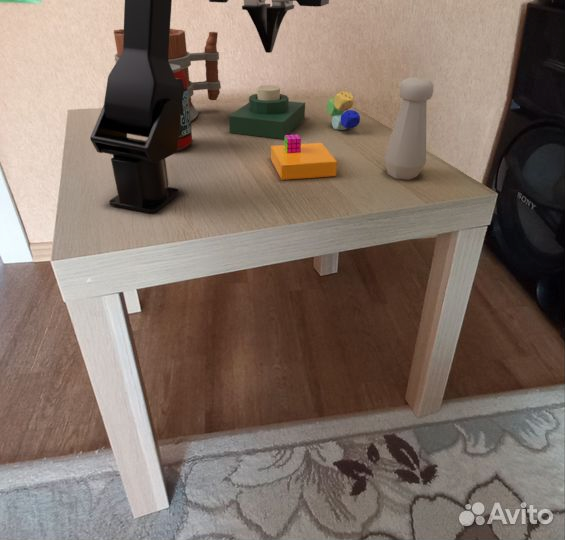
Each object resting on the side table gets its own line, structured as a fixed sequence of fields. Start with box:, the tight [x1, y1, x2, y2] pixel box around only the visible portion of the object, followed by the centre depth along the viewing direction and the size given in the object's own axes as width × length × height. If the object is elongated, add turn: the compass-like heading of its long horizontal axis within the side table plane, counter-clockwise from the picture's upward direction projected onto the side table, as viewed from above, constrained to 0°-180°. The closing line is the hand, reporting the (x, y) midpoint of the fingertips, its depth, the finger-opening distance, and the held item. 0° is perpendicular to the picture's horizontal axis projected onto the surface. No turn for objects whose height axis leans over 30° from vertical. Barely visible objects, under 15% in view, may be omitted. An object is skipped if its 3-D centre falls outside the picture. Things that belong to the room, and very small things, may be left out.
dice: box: [326, 90, 361, 131], centre depth 83 cm, size 8×3×6 cm, turn 25°
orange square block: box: [270, 134, 338, 181], centre depth 68 cm, size 8×8×4 cm
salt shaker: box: [383, 76, 434, 181], centre depth 64 cm, size 6×6×13 cm
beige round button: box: [256, 84, 281, 101], centre depth 83 cm, size 4×4×2 cm
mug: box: [113, 28, 222, 122], centre depth 86 cm, size 14×19×15 cm
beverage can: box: [170, 64, 193, 151], centre depth 73 cm, size 7×7×12 cm
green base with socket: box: [228, 93, 306, 140], centre depth 85 cm, size 13×10×5 cm
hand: (268, 52), depth 79 cm, fingers closed
